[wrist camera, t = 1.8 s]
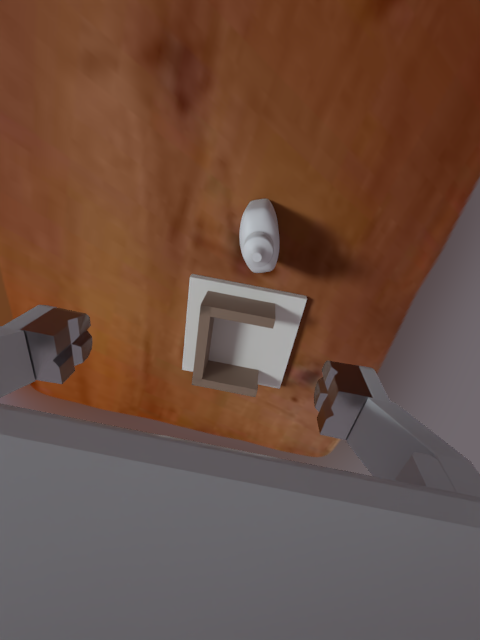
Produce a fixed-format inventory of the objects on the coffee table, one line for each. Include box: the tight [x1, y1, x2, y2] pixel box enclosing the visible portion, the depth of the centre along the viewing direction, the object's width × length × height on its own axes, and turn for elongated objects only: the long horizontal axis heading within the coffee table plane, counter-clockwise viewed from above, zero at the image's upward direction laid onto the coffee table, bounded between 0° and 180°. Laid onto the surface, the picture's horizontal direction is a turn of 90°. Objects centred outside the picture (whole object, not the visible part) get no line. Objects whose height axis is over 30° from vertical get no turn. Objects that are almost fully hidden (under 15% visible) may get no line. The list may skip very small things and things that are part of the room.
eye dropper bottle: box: [240, 199, 279, 273], centre depth 26 cm, size 4×6×12 cm
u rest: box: [182, 274, 307, 397], centre depth 36 cm, size 14×14×5 cm
